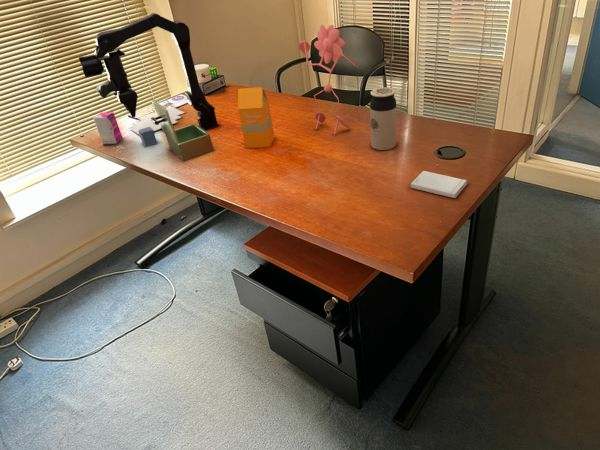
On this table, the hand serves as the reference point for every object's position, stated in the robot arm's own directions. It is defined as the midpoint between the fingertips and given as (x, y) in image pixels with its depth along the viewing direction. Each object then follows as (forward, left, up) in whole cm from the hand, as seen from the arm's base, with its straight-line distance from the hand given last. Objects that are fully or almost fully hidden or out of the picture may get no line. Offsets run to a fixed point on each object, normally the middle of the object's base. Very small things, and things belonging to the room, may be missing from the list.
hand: (131, 113), depth 163 cm
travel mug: (-62, +68, -13) cm, 93 cm away
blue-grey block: (-3, 0, -13) cm, 13 cm away
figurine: (-62, +43, -13) cm, 77 cm away
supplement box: (+8, -14, -13) cm, 21 cm away
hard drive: (-55, +98, -13) cm, 113 cm away
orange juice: (-34, +34, -13) cm, 50 cm away
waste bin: (-13, +19, -13) cm, 26 cm away
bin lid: (-7, +19, 0) cm, 20 cm away
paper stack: (-13, -22, -13) cm, 29 cm away
